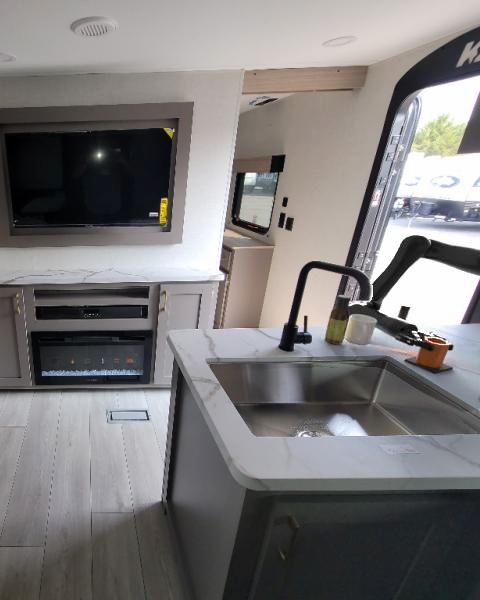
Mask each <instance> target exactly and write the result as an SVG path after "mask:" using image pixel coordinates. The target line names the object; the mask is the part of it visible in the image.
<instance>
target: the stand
mask: <svg viewBox="0 0 480 600" xmlns="http://www.w3.org/2000/svg"><path fill="white" fill-rule="evenodd" d="M411 307H412V305H411V304H408V303H402V304H401V305H400V307H399V311H398V314H397V317H398V318H400V319H403V320H405V321H407V318H408V316H409V313H410V310H411Z"/></svg>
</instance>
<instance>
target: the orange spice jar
mask: <svg viewBox="0 0 480 600" xmlns="http://www.w3.org/2000/svg"><path fill="white" fill-rule="evenodd" d="M423 341H424V342H427V343H429V344H431V345H433V346H434V350H433V351H428V350H426V349H424V348H422V347H419V350H418V353H417V355H416V356H417V357H416V356H415V357H416V362H418V363H420V364H422V365H425V366H429V367H433V368H439V367H441V366H442V363H443V364H444V361H445V359H446V356H447V354H448V351H449V350H448V349H449V346H450V344H451V342H450V341H447V340H446V341H445V340H443V339H440V338H435V337H424V339H423Z"/></svg>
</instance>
